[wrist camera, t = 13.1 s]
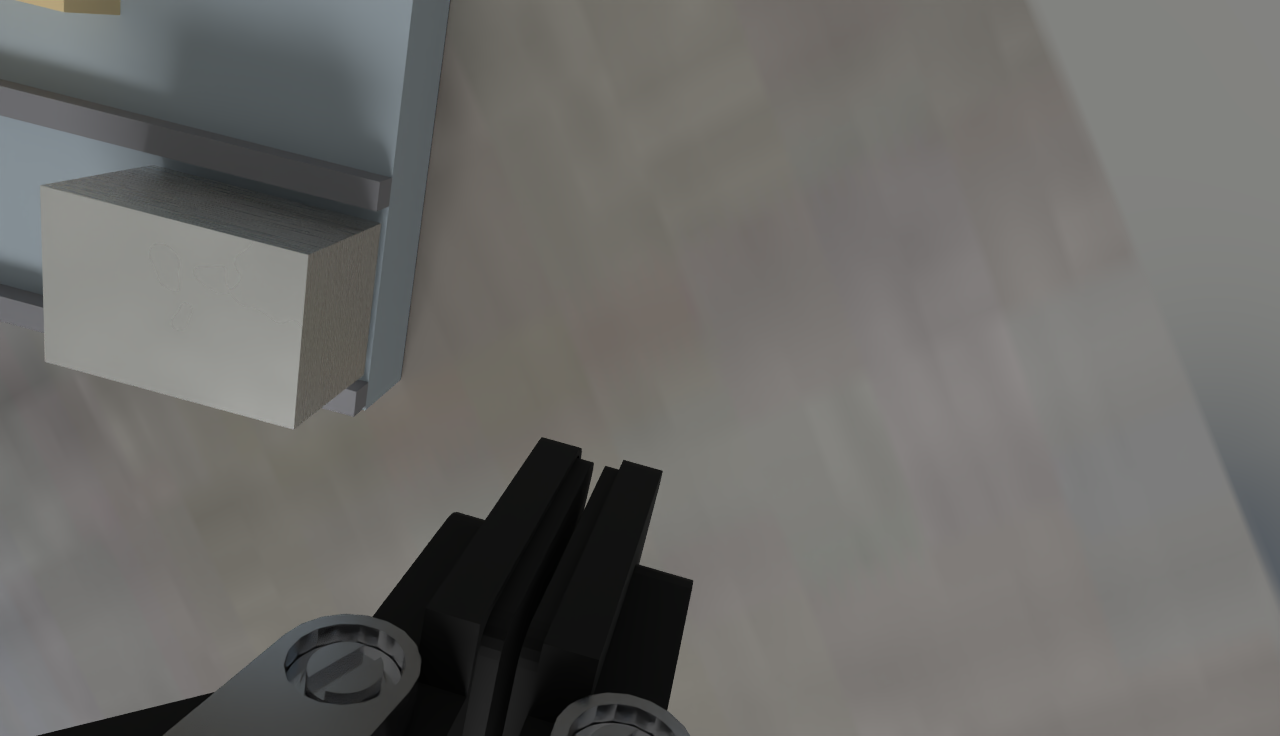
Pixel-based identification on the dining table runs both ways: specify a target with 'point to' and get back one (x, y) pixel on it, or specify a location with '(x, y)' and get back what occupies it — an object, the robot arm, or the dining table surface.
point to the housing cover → (206, 291)
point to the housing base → (227, 122)
